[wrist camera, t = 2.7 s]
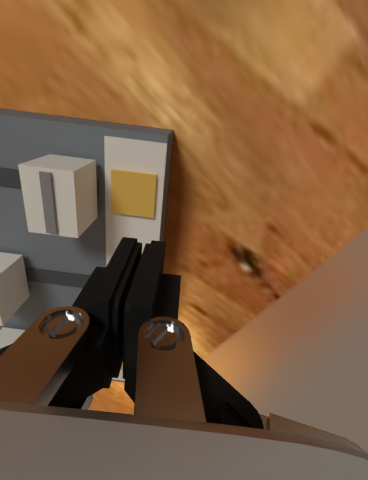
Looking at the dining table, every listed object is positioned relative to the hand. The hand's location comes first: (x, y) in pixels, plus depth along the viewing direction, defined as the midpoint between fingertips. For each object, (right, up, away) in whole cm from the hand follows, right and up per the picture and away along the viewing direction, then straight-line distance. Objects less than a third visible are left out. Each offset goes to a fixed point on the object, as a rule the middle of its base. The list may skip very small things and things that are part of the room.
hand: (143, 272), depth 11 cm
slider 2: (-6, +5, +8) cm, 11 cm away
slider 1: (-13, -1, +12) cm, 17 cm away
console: (-9, 0, +15) cm, 18 cm away
